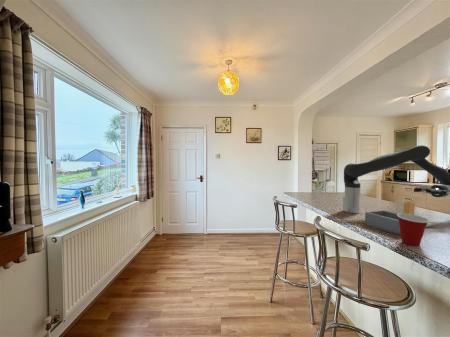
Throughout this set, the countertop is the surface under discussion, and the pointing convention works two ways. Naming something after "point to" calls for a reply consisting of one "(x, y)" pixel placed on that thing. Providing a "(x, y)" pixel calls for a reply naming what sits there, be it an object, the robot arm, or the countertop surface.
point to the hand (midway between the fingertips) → (422, 191)
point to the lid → (410, 210)
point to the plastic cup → (412, 228)
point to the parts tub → (383, 221)
